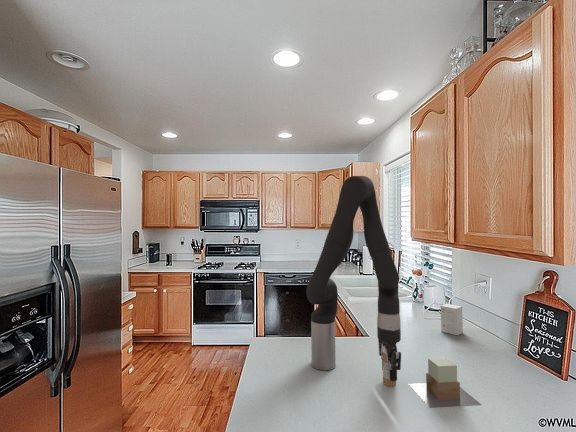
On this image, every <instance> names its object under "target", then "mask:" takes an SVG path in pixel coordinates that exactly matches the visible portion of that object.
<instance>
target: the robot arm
mask: <svg viewBox="0 0 576 432" xmlns="http://www.w3.org/2000/svg"><path fill="white" fill-rule="evenodd" d="M376 194H377V193H376V188H375V185H374V182H373V180H372V179H371V178H369V177H368V176H365V175H352V176H349V177H347V178H346V179H345V180H344V181H343V183H342V186H341V188H340V192H339V196H338V197H339V198H338V202H337V205H336V209H335V212H334V216H333V219H332V222H331V224H330V227H329V230H328V232H327V234H326V235H327V236H326V238H325V241H324V244H323V246H322V250H321V252H320V256H319V258H318V260H317V264H316V266H315V269H314V271H313V273H312V275H311V276H310V279H309V280H308V281H309V282H308V284H307V286H306V298H307V300H308V302H309V303H311V305H318V306H317V307H316V308H315V309H314V310H313V311H312V312H311V314H310V316H311V317H310V321H311V322H310V324H311V325H310V327H311V328H310V329H311V332H310V334H311V335H310V336H311V341H310V342H311V346H310V347H311V367H312V368H313V369H315V370H318V369H319V370H318V371H330V370H333V369H334V368H336V316H337V313H338V298H339V295H338V294H339V292H338V286H337V284H336V282H335V281H334V280H333V279H332V278H331V276H332V274H333V273H334V272H335V271H336V270H337V269H338V267H339V266H340V265H341V264H342V263H343V262H344V260H345V259H346V257H347V256H348V254H349V252H350V249H351V246H352V243H353V240H354V233H355V232H354V226H355V225H354V224H355V217H356V215H357V213H358V210H359V209H360V212H361V216H362V221H363V222H362V223H363V235H364V241H365V245H366V247H367V251H368V253H369V256H370V259H371V260H372V264H373V269H374V272H375V276H376V280H377V287H378V289H377V290H378V296H377V297H378V298H377V317H376V318H377V319H376V325H377V327H376V328H377V329H376V330H377V331H376V332H377V334H376V335H377V340H378V342H377V343H378V355H379V356H380V359H381V364H382V365H381V371H383V352H382V346H384V345H385V346H386V347H384V348H385V352H386V358H387V362H389V367H390V380H391V381H396V382H397V381H398V371H401V367H402V366H401V365H402V352H401V351H398V347H397V344H398V343H399V342H401V339H402V338H401V337H402V336H401V335H402V334H401V333H402V332H401V324H402V323H401V315H400V312H401V311H400V297H399V282H400V274H399V272H398V269H397V267H396V264H395V261H394V259H393V257H392V253H391V252H392V251H391V248H390V245H389V242H388V239H387V236H386V233H385V229H384V226H383V223H382V220H381V216H380V212H379V205H378V201H377V195H376ZM390 358H392V359H390ZM391 362H392V363H391Z"/></svg>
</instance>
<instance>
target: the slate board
mask: <svg viewBox="0 0 576 432" xmlns="http://www.w3.org/2000/svg"><path fill="white" fill-rule="evenodd" d="M408 386H409V387H410V388H411V389H412V390H413V391H414V392H415V394H416V395H418V397H419V398H420V399H421V400H422V401H423V402H424V403H425V405H426V406H427V407H428V408H430V409H434V408H451V407H452V408H453V407H466V406H468V407H470V406H471V407H472V406H481V405H482V403H481V402H479V401H478V400H477V399H475V398H474V397H473V396H471V394H469V393H468V392H467V391H466V390H464V389H463V388H462V387H461V386H460V399H454V400H437V399H436V398H435V397H434V396H433V395H432V394H431V393H430V392H429V391H428V390H427V389H426V382H425V383H422V382H421V383H408Z"/></svg>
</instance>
